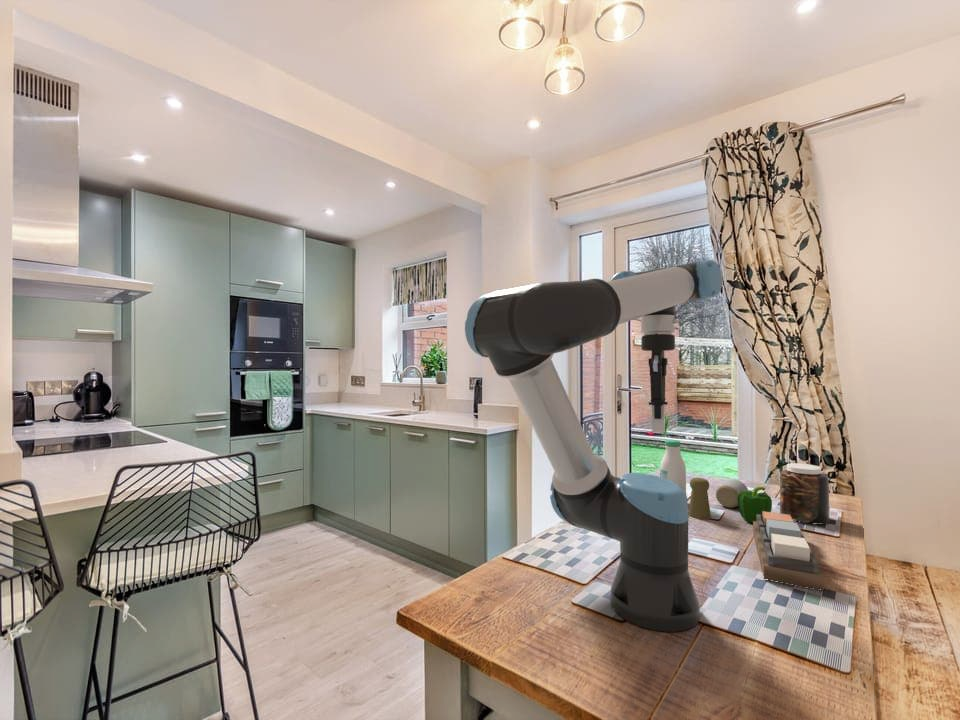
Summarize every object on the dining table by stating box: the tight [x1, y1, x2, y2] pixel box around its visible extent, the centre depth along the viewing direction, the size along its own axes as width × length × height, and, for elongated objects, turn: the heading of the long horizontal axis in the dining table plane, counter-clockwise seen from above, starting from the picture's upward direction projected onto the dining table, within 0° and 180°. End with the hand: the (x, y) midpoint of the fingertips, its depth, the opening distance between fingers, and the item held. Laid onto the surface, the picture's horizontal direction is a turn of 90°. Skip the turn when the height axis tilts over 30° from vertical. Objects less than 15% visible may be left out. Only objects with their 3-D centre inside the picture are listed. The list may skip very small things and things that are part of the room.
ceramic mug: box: [715, 478, 749, 509], centre depth 142 cm, size 11×8×8 cm
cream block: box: [771, 533, 811, 561], centre depth 95 cm, size 6×6×3 cm
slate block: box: [766, 519, 802, 539], centre depth 104 cm, size 6×6×3 cm
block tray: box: [752, 514, 825, 591], centre depth 104 cm, size 30×10×5 cm, turn 153°
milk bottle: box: [659, 439, 687, 494], centre depth 146 cm, size 8×8×20 cm
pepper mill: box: [688, 477, 712, 520], centre depth 133 cm, size 6×6×11 cm
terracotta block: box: [762, 511, 793, 524], centre depth 114 cm, size 6×6×3 cm
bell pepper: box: [737, 486, 773, 524], centre depth 128 cm, size 8×8×10 cm
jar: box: [779, 462, 830, 524], centre depth 131 cm, size 12×12×15 cm
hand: (658, 432), depth 109 cm, fingers closed
